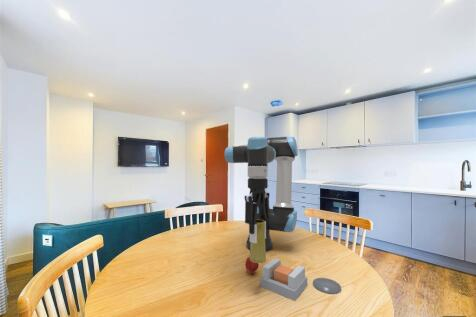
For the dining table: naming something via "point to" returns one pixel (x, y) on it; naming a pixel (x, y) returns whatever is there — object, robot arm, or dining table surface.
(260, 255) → the vase
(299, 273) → the grey cradle holder
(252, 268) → the onion
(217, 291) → the dining table surface
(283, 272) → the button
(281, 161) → the robot arm
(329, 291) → the coaster
